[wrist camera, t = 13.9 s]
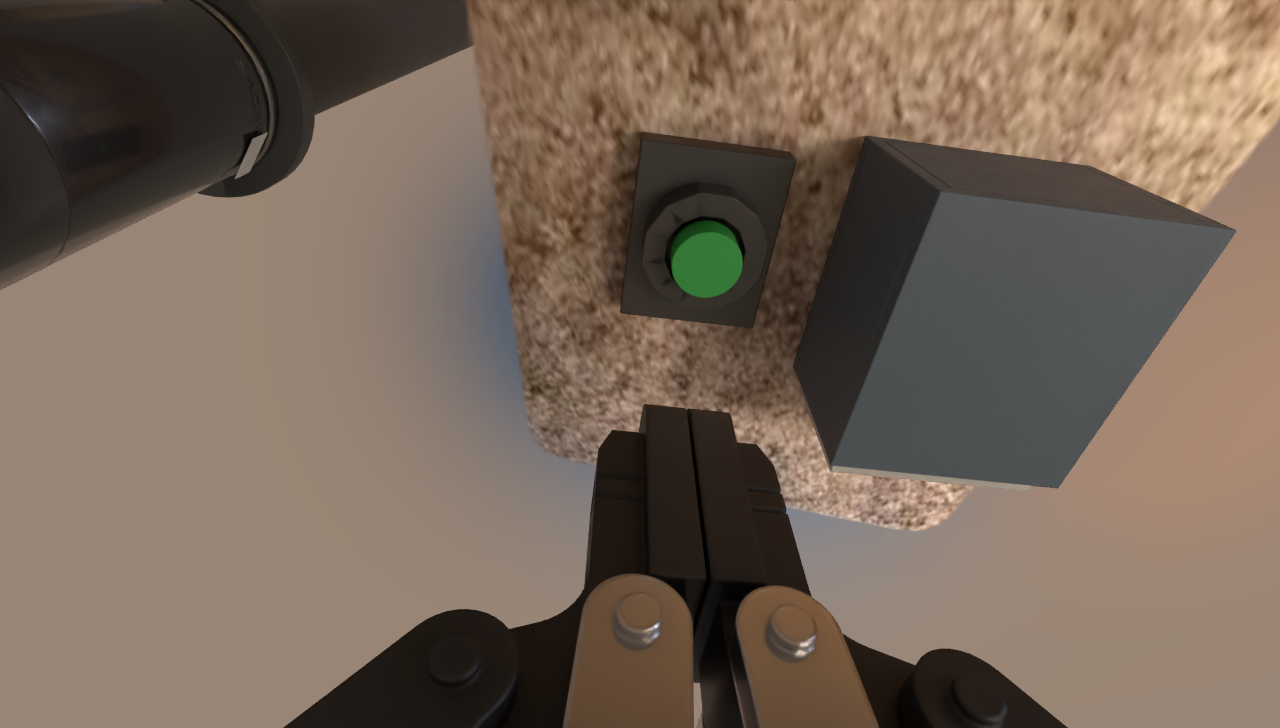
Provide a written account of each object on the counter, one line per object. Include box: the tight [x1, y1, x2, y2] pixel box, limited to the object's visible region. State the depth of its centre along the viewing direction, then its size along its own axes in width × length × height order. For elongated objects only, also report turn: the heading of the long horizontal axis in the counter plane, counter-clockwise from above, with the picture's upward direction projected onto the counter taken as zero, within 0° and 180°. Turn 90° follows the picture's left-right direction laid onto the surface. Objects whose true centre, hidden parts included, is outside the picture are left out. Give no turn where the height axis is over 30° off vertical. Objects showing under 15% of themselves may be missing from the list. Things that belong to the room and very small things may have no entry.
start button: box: [670, 220, 743, 298], centre depth 31 cm, size 4×4×2 cm
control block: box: [620, 132, 796, 328], centre depth 33 cm, size 10×8×4 cm
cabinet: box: [793, 136, 1236, 488], centre depth 32 cm, size 15×13×10 cm
